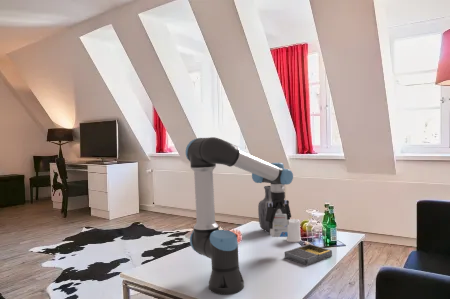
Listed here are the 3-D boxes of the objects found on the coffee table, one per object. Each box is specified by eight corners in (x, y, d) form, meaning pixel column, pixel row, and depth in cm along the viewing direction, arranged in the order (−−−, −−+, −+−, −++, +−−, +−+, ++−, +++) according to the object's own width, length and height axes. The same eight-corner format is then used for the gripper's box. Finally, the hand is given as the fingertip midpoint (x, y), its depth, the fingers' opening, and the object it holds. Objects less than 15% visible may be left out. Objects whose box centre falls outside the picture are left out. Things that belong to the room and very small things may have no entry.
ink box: (287, 234, 188) (286, 212, 187) (287, 236, 183) (287, 214, 182) (271, 234, 189) (270, 213, 188) (271, 237, 184) (270, 215, 183)
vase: (268, 235, 219) (266, 189, 218) (254, 230, 233) (252, 186, 232) (288, 231, 227) (286, 186, 226) (273, 226, 241) (271, 183, 240)
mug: (279, 239, 211) (278, 219, 210) (289, 236, 216) (287, 217, 216) (294, 243, 201) (293, 223, 201) (304, 239, 207) (302, 220, 206)
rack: (306, 265, 166) (306, 258, 166) (284, 257, 179) (284, 251, 179) (332, 256, 177) (331, 249, 177) (309, 249, 189) (309, 243, 189)
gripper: (266, 194, 176) (268, 238, 176) (297, 189, 188) (298, 230, 189) (257, 193, 182) (259, 235, 183) (287, 188, 194) (289, 228, 195)
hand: (279, 232), depth 186 cm, fingers closed on ink box, 9 cm apart
